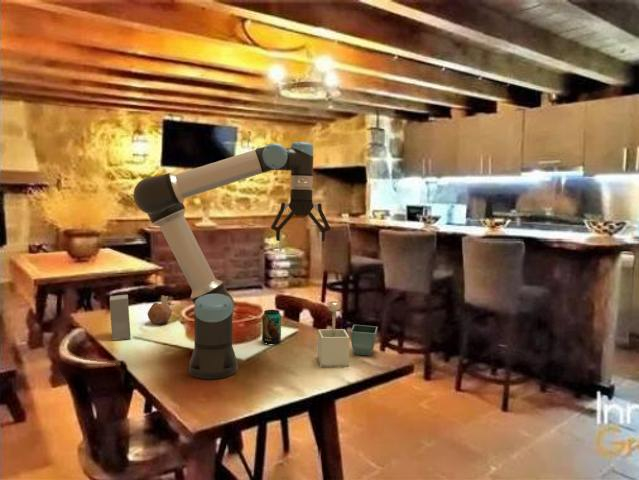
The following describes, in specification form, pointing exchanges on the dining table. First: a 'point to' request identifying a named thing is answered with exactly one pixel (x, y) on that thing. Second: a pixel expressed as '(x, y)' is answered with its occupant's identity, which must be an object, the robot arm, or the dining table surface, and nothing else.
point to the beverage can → (271, 327)
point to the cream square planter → (333, 348)
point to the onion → (159, 313)
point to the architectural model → (164, 301)
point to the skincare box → (120, 317)
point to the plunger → (333, 307)
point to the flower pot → (363, 339)
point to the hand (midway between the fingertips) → (300, 250)
